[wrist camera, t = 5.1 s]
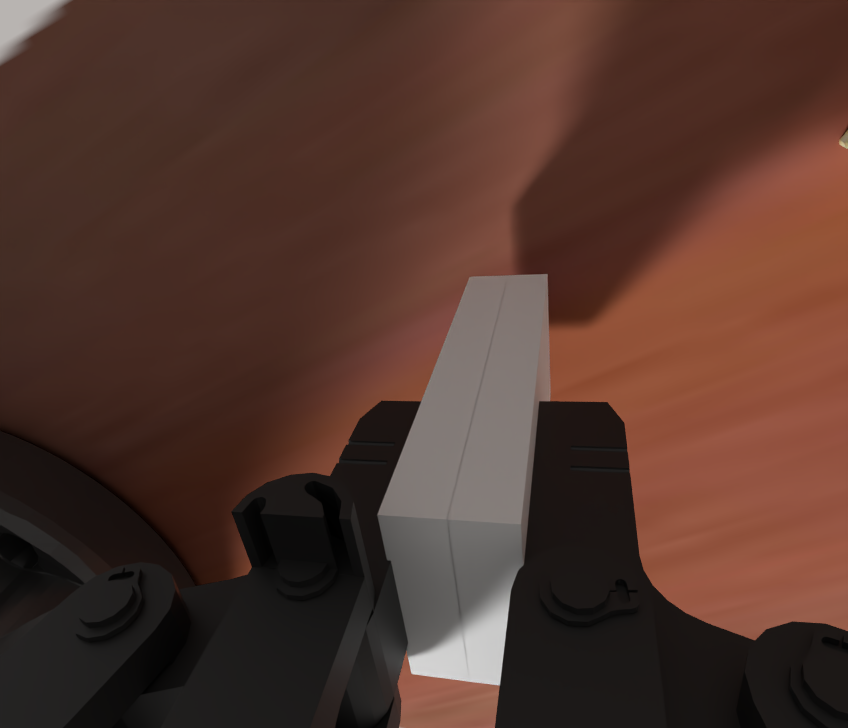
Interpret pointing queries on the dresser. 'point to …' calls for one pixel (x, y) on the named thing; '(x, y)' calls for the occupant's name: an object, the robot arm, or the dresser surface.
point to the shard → (844, 140)
